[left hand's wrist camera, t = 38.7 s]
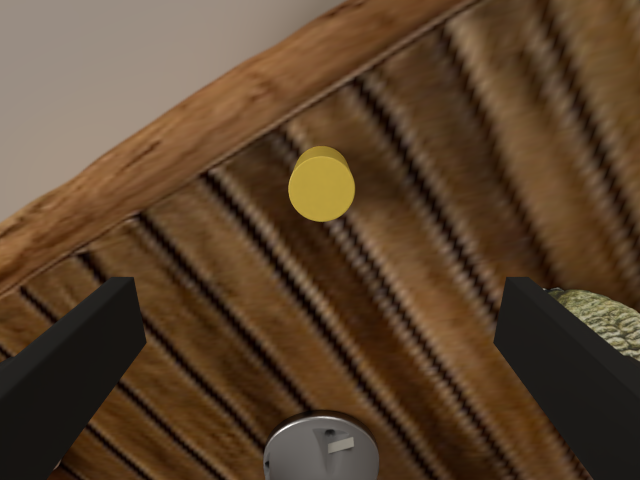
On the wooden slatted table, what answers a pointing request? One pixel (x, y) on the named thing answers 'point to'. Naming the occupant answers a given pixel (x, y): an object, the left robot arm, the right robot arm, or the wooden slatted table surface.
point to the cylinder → (321, 184)
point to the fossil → (604, 318)
